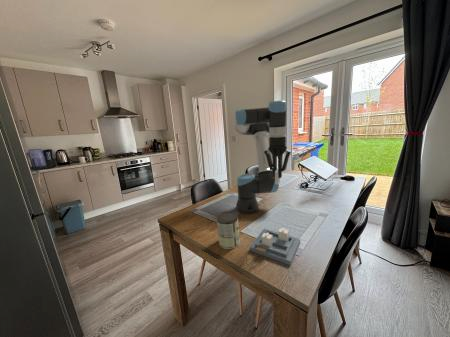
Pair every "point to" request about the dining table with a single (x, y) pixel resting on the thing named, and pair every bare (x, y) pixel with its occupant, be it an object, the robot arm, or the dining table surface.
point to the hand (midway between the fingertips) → (277, 183)
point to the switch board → (276, 247)
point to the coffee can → (228, 230)
